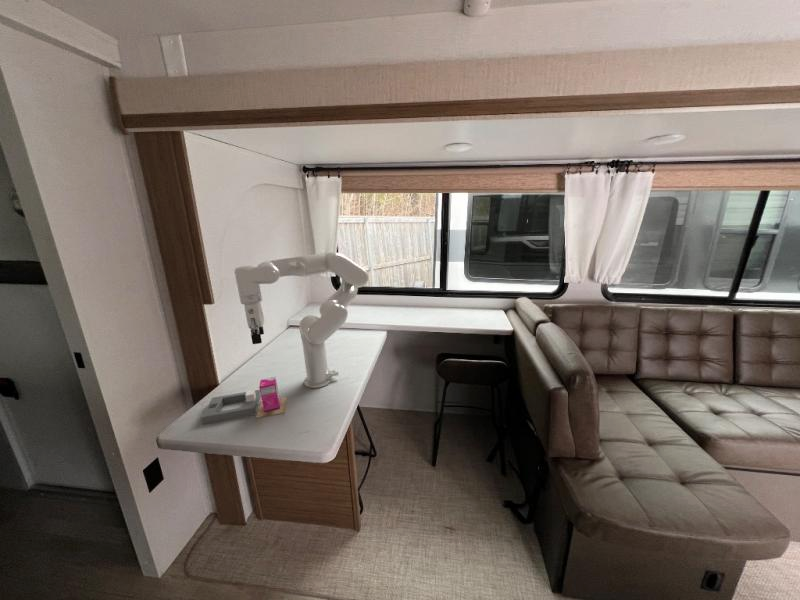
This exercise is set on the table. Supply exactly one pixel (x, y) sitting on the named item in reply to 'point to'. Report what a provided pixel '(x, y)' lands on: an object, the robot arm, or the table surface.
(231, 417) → the grey rectangular frame
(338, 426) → the table surface
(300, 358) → the table surface
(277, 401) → the supplement box
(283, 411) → the coaster
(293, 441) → the table surface
